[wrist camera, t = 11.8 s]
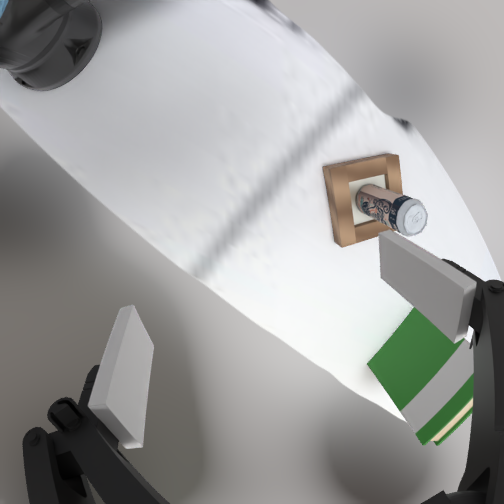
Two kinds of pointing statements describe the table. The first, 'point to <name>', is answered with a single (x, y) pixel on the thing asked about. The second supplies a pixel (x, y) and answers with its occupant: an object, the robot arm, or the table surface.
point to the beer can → (392, 209)
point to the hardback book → (427, 377)
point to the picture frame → (346, 190)
